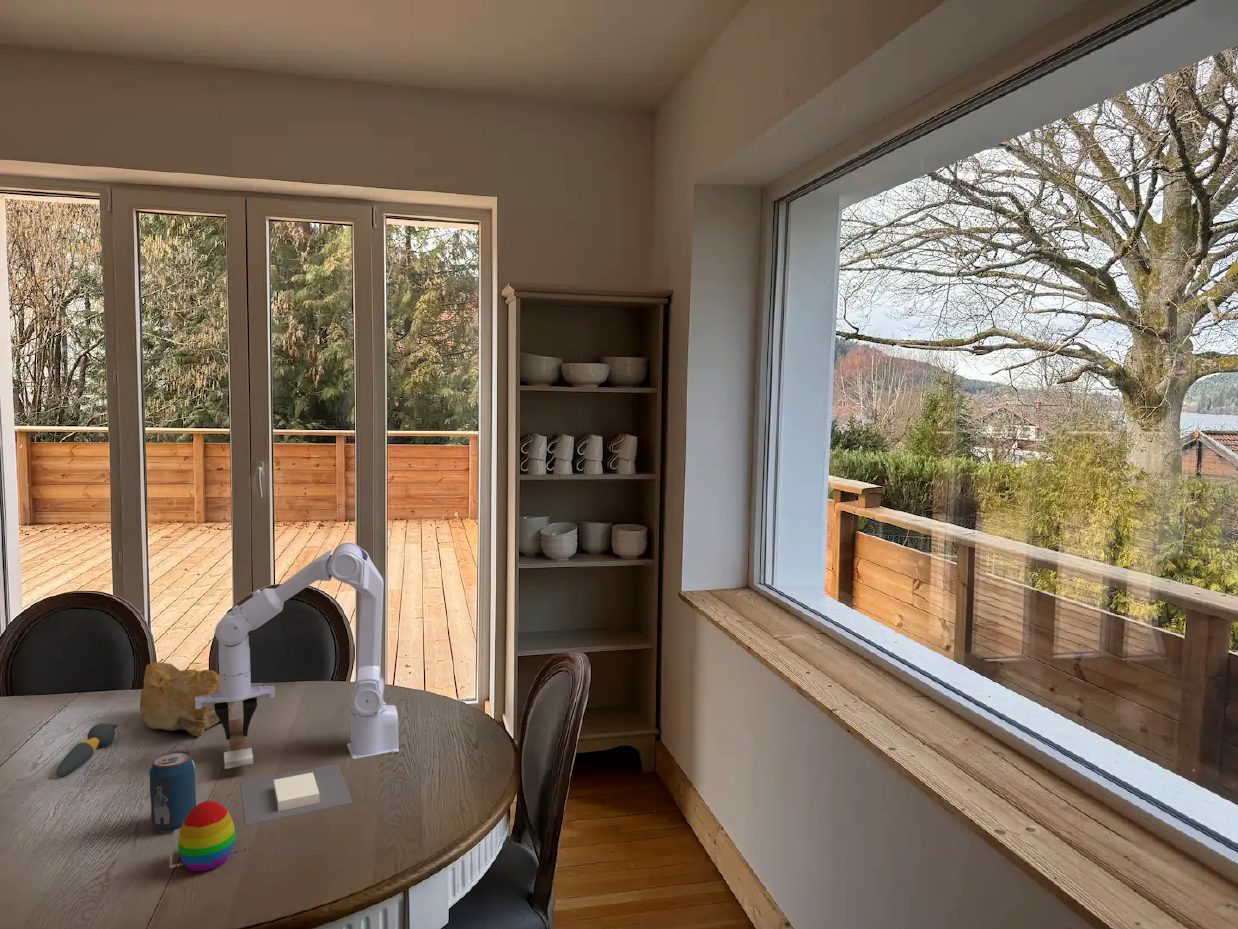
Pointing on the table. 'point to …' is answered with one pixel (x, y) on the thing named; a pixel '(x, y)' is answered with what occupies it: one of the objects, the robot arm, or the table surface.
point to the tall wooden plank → (237, 747)
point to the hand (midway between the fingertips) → (236, 736)
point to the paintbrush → (87, 748)
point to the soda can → (172, 790)
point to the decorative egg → (206, 836)
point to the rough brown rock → (178, 698)
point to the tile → (296, 791)
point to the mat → (264, 807)
